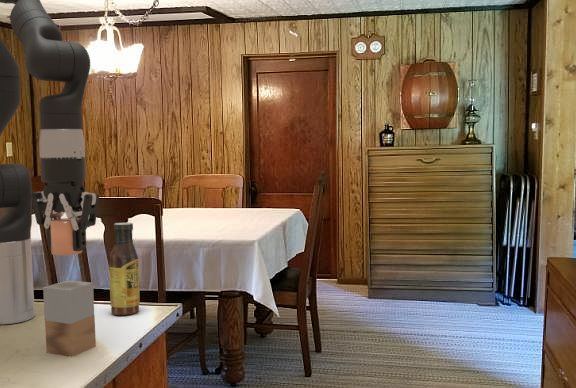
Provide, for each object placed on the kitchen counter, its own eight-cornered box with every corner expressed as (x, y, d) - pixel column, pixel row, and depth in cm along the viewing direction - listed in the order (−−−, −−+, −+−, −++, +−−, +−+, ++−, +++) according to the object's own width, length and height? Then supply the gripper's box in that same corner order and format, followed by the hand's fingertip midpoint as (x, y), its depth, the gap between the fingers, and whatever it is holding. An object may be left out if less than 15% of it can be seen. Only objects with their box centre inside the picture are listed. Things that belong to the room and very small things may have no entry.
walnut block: (46, 352, 108) (44, 320, 108) (70, 342, 114) (69, 311, 113) (72, 357, 106) (70, 323, 105) (95, 346, 111) (94, 314, 111)
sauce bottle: (132, 317, 130) (128, 225, 128) (105, 315, 131) (102, 225, 129) (145, 308, 136) (142, 221, 134) (119, 307, 137) (116, 221, 135)
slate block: (44, 320, 108) (43, 287, 107) (69, 311, 113) (67, 280, 113) (70, 324, 105) (69, 290, 105) (94, 314, 111) (93, 282, 110)
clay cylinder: (45, 254, 107) (43, 220, 107) (66, 249, 112) (64, 217, 111) (67, 256, 105) (66, 222, 105) (88, 251, 110) (87, 218, 109)
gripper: (15, 155, 106) (20, 250, 108) (79, 155, 101) (83, 256, 102) (48, 154, 113) (52, 244, 115) (109, 154, 107) (112, 248, 109)
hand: (66, 249), depth 108 cm, fingers closed on clay cylinder, 5 cm apart
